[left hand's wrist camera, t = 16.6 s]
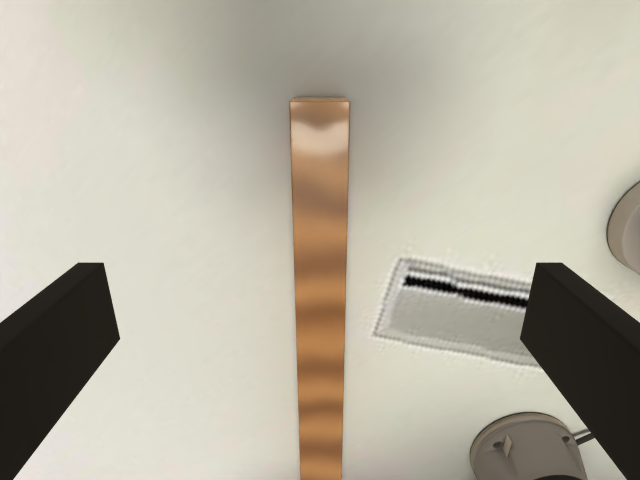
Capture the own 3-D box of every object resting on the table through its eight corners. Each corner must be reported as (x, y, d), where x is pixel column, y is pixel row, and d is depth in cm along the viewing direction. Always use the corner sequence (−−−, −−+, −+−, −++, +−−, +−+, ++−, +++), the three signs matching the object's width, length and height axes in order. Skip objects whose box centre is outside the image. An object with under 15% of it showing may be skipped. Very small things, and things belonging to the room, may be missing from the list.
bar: (294, 97, 43) (289, 101, 36) (345, 97, 43) (350, 101, 36) (304, 486, 65) (302, 534, 58) (338, 486, 65) (340, 534, 58)
